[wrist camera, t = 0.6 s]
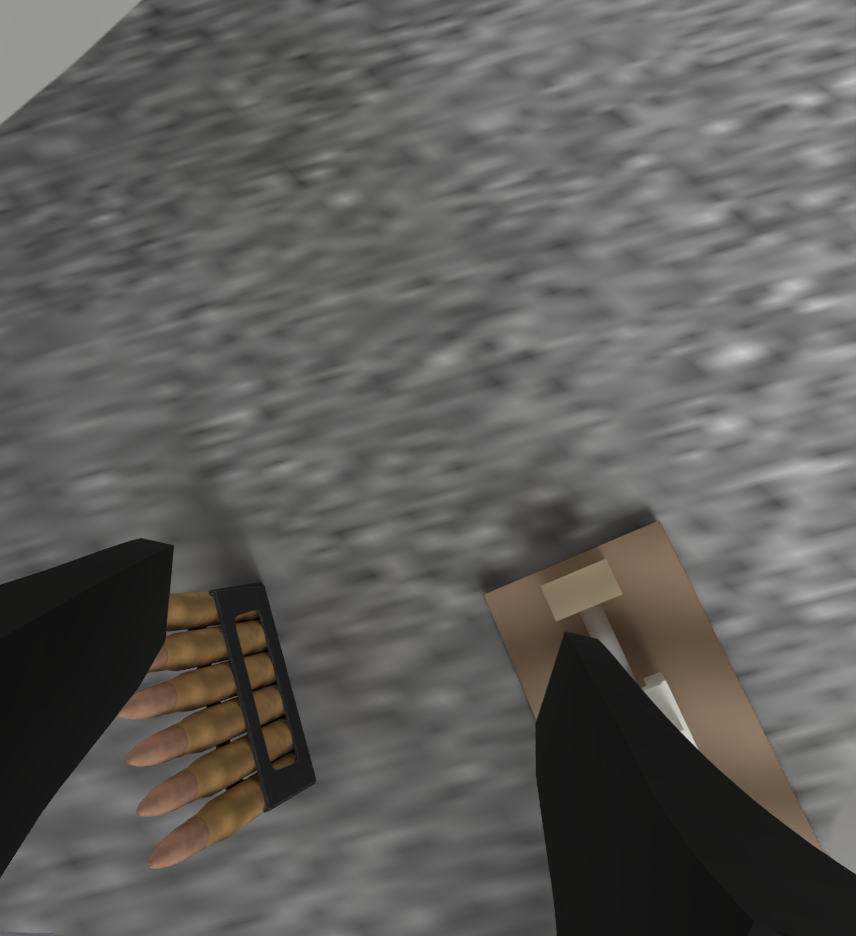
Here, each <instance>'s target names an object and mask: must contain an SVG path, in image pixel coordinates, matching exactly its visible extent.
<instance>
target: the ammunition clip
mask: <svg viewBox="0 0 856 936" xmlns="http://www.w3.org/2000/svg"><path fill="white" fill-rule="evenodd" d="M213 625H221V626H217V627H211V628H206V627H208V626H213ZM184 629H188V631H186V632H180V633H174V634H172V635H170V636H168V637H166V639H165V643H164V645H163V646H162V648H161V650H160V652H159V653H158V655H157V657H156V659H155V661H154V662H153V664H152V666H151V668H150V669H149V671H148V673H149V672H157V671H164V670H170V671H179V670H186V669H190V668H194V667H197V669H196V670H193V671H189V672H185V673H182V674H180V675H179V676H177V677H175V678H174V679H172V680H169V681H166V682H163V683H161V684H159V685H156V686H152V687H149V688H147V689H145V690H142V691H140V692H138V693H136V694H135V695H133V696H132V697H131V698H130V699H129V701H128V702H127V703H126V704H125V706H124V707H123V708H122V710H121V711H120V712H119V713H118V716H120V717H122V718H126V719H145V718H152V717H157V716H161V715H164V714H170V713H174V712H178V711H181V712H183V711H192V710H195V709H198V708H201V707H204V706H206V707H207V708H206V709H203V710H201V711H198V712H195V713H193V714H191V715H189V716H187V717H186V718H184V719H183V720H182V721H180V722H179V723H177V724H174V725H172V726H170V727H169V728H167V729H164V730H162V731H160V732H158V733H156V734H154V735H152V736H150V737H149V738H147V739H145V740H144V741H142V742H141V743H140V744H138V745H137V746H136V747H135V748H134V749H133V750H132V751H131V752H130V753H129V755H128V756H127V758H126V763H127V764H130V765H133V766H149V765H156V764H160V763H164V762H167V761H169V760H172V759H174V758H178V757H181V756H184V755H187V754H190V753H199V752H203V751H205V750H207V749H210V748H212V747H214V746H216V750H214V751H212V752H210V753H208V754H206V755H204V756H202V757H200V758H198V759H197V760H195V761H194V762H193V763H192V764H191V765H190V766H189V767H188V768H186V769H184V770H182V771H181V772H179V773H177V775H175V776H173V777H171V778H169V779H167V780H165V781H164V782H162V783H161V784H160V785H158V786H157V787H155V788H154V789H153V790H152V791H151V792H150V793H149V794H148V795H147V796H146V797H145V798H144V799H143V800H142V802H141V803H140V804H139V806H138V808H137V814H138V815H141V816H155V815H161V814H165V813H168V812H171V811H173V810H176V809H178V808H180V807H182V806H184V805H186V804H188V803H191V802H193V801H195V800H197V799H200V798H204V797H209V796H212V795H214V794H216V793H218V792H220V791H221V790H223V789H225V788H226V792H224V793H222V794H221V795H219V796H217V797H216V798H214V799H213V800H211V801H209V802H208V803H206V805H205V806H204V807H203V808H202V809H201V810H200V811H199V812H198V813H197V814H195V815H194V816H193V817H191V818H190V819H188V820H187V821H186V822H185V823H184V824H182V825H180V826H179V827H177V828H176V829H175V830H174V831H172V832H171V833H170V834H169V835H168V836H166V837H165V838H164V839H163V841H162V842H161V843H160V844H159V845H158V846H157V848H156V849H155V850H154V851H153V853H152V854H151V856H150V858H149V860H148V867H150V868H163V867H167V866H171V865H174V864H176V863H179V862H181V861H183V860H185V859H187V858H189V857H191V856H192V855H194V854H195V853H197V852H198V851H201V850H203V849H204V848H206V847H208V846H209V845H211V844H213V843H217V842H220V841H222V840H224V839H226V838H228V837H229V836H231V835H232V834H234V833H235V832H237V831H238V830H239V829H241V828H242V827H244V826H245V825H246V824H248V823H249V822H251V821H252V820H253V819H255V818H256V817H258V816H259V815H261V814H262V813H263V812H264V813H265V812H268V811H270V810H272V809H273V808H275V807H277V806H278V805H280V804H282V803H283V802H285V801H287V800H288V799H290V798H292V797H293V796H295V795H297V794H298V793H300V792H302V791H303V790H305V789H307V788H308V787H310V786H312V785H313V784H315V782H316V777H315V774H314V770H313V766H312V762H311V759H310V755H309V751H308V747H307V744H306V740H305V736H304V732H303V729H302V725H301V721H300V717H299V714H298V710H297V706H296V702H295V699H294V695H293V691H292V688H291V684H290V680H289V676H288V673H287V669H286V665H285V661H284V658H283V654H282V650H281V646H280V643H279V639H278V635H277V631H276V628H275V624H274V620H273V616H272V613H271V609H270V605H269V601H268V598H267V594H266V590H265V586H264V585H263V584H262V583H255V584H248V585H242V586H235V587H228V588H221V589H214V590H211V591H208V592H193V593H179V594H170V595H169V606H168V617H167V628H166V631H176V630H184ZM224 660H229V661H227V662H223V663H220V664H216V665H211V663H216V662H220V661H224ZM237 695H238V697H236V698H233V699H231V700H228V701H225V702H223V703H221V702H220V701H222V700H225V699H228V698H231V697H234V696H237ZM245 732H247V733H248V734H247V735H245V736H243V737H241V738H239V739H237V740H235V741H233V742H231V743H230V739H232V738H234V737H237V736H239V735H241V734H243V733H245ZM256 770H257V773H255V774H254V775H252V776H250V777H249V778H247V779H245V780H243V779H242V778H244V777H246V776H248V775H249V774H251V773H253V772H255V771H256Z"/></svg>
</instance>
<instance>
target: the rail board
mask: <svg viewBox="0 0 856 936" xmlns="http://www.w3.org/2000/svg"><path fill="white" fill-rule="evenodd" d="M484 596H485V599H486V601H487V603H488V606H489V608H490V611H491V613H492V615H493V618H494V620H495V623H496V625H497V627H498V630H499V632H500V635H501V637H502V639H503V642H504V644H505V646H506V649H507V651H508V654H509V656H510V658H511V661H512V663H513V666H514V668H515V670H516V673H517V675H518V678H519V680H520V682H521V685H522V687H523V689H524V692H525V694H526V697H527V699H528V701H529V704H530V706H531V709H532V711H533V713H534V716H535V718H536V720H537V717H538V714H539V711H540V708H541V705H542V702H543V698H544V695H545V692H546V689H547V686H548V683H549V679H550V676H551V673H552V670H553V667H554V664H555V660H556V657H557V654H558V651H559V648H560V645H561V641H562V638H563V635H564V632H570V633H574V634H579V635H583V636H588V637H592V638H597V639H599V640H600V641H601V642H602V643H603V644H604V645H605V647H606V648H607V649H608V650H609V651H610V652H611V653H612V654H613V656H614V657H615V658H616V659H617V660H618V661H619V663H620V664H621V665H622V666H623V667H624V669H625V670H626V671H627V672H628V673H629V674H630V676H631V677H632V678H633V679H634V680H635V682H636V683H637V684H638V685H639V686H640V687H641V688H642V687H644V686H646V684H645V681H644V679H643V678H645V677H648V676H650V675H653V674H656V673H658V672H661V673H662V675H663V676H664V678H665V680H666V682H667V684H668V686H669V688H670V690H671V692H672V694H673V697H674V699H675V701H676V703H677V705H678V707H679V709H680V712H681V714H682V716H683V718H684V720H685V722H686V724H687V726H688V729H689V731H690V733H691V735H692V737H693V739H694V741H695V744H696V746H697V748H698V750H699V751H700V752H701V753H702V754H703V755H704V756H705V757H706V758H707V759H708V760H709V761H710V762H712V763H713V764H714V765H715V766H716V767H717V768H718V769H719V770H720V771H721V772H722V773H724V774H725V775H726V776H727V777H728V778H729V779H730V780H732V781H733V782H734V783H735V784H736V785H737V786H738V787H740V788H741V789H742V790H743V791H744V792H745V793H746V794H748V795H749V796H750V797H751V798H752V799H753V800H755V801H756V802H757V803H758V804H760V805H761V806H762V807H763V808H765V809H766V810H767V811H768V812H770V813H771V814H772V815H773V816H775V817H776V818H777V819H779V820H780V821H781V822H783V823H784V824H785V825H787V826H788V827H789V828H791V829H792V830H793V831H795V832H796V833H797V834H799V835H800V836H801V837H803V838H804V839H805V840H807V841H808V842H809V843H811V844H812V845H813V846H815V847H816V848H818V849H819V850H821V851H822V849H821V847H820V845H819V843H818V841H817V839H816V837H815V835H814V833H813V831H812V829H811V827H810V825H809V823H808V821H807V819H806V817H805V815H804V813H803V811H802V809H801V807H800V805H799V803H798V801H797V799H796V796H795V794H794V792H793V790H792V788H791V786H790V784H789V782H788V780H787V778H786V776H785V774H784V772H783V770H782V768H781V766H780V764H779V762H778V760H777V758H776V756H775V754H774V752H773V750H772V748H771V746H770V744H769V742H768V740H767V738H766V736H765V734H764V732H763V730H762V728H761V726H760V724H759V722H758V720H757V718H756V715H755V713H754V711H753V709H752V707H751V705H750V703H749V701H748V699H747V697H746V695H745V693H744V691H743V689H742V687H741V685H740V683H739V681H738V679H737V677H736V675H735V673H734V671H733V669H732V667H731V665H730V663H729V661H728V659H727V657H726V655H725V653H724V651H723V649H722V647H721V645H720V643H719V641H718V639H717V637H716V635H715V632H714V630H713V628H712V626H711V624H710V622H709V620H708V618H707V616H706V614H705V612H704V610H703V608H702V606H701V604H700V602H699V600H698V598H697V596H696V594H695V592H694V590H693V588H692V586H691V584H690V582H689V580H688V578H687V576H686V574H685V572H684V570H683V568H682V566H681V564H680V562H679V560H678V558H677V556H676V554H675V552H674V549H673V547H672V545H671V543H670V541H669V539H668V537H667V535H666V533H665V531H664V529H663V527H662V525H661V523H660V521H657V522H654V523H652V524H649V525H647V526H645V527H642V528H640V529H638V530H635V531H633V532H631V533H628V534H626V535H623V536H621V537H619V538H616V539H614V540H612V541H609V542H607V543H605V544H602V545H600V546H598V547H595V548H593V549H590V550H588V551H586V552H583V553H581V554H579V555H576V556H574V557H572V558H569V559H567V560H564V561H562V562H560V563H557V564H555V565H553V566H550V567H548V568H546V569H543V570H541V571H539V572H536V573H534V574H531V575H529V576H527V577H524V578H522V579H520V580H517V581H515V582H513V583H510V584H508V585H505V586H503V587H501V588H498V589H496V590H494V591H491V592H489V593H487V594H484ZM822 852H823V851H822Z"/></svg>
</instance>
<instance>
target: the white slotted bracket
mask: <svg viewBox="0 0 856 936" xmlns="http://www.w3.org/2000/svg"><path fill="white" fill-rule="evenodd" d="M643 679H644V681H645V684H646V686H644V687H642V688H641V689H642V690H643V691H644V692H645V693H646V694H647V696H648V697H649V698H650V699H651V700H652V701H653V702H654V703H655V705H656V706H657V707H658V708H659V709H660V710H661V711H662V712H663V714H664V715H665V716H666V717H667V718H668V719H669V720H670V721H671V722H672V723H673V724H674V725H675V726H676V728H677V729H678V730H679V731H680V732H681V733H682V734H683V735H684V736H685V737H686V738H687V739H688V740H689V741H690V742H691V743H692V744H693V745H694V746H695V747H696V748H697V746H696V744H695V741H694V739H693V737H692V735H691V733H690V731H689V729H688V726H687V724H686V722H685V720H684V718H683V716H682V714H681V712H680V709H679V707H678V705H677V703H676V701H675V699H674V697H673V694H672V692H671V690H670V688H669V686H668V684H667V682H666V680H665V678H664V676H663V675H662V673H661V672H658V673H656V674H653V675H650V676H648V677H645V678H643ZM697 749H698V748H697Z"/></svg>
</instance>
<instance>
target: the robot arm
mask: <svg viewBox="0 0 856 936" xmlns="http://www.w3.org/2000/svg"><path fill="white" fill-rule="evenodd" d="M173 550H174V545H170V544H165V543H161V542H156V541H152V540H147V539H143V538H140V539H136V540H132V541H128V542H125V543H122V544H119V545H116V546H113V547H110V548H107V549H104V550H102V551H99V552H96V553H93V554H90V555H88V556H85V557H82V558H79V559H76V560H74V561H71V562H68V563H65V564H62V565H59V566H57V567H54V568H51V569H48V570H45V571H42V572H39V573H36V574H33V575H30V576H27V577H23V578H20V579H17V580H14V581H11V582H8V583H4V584H1V585H0V877H1V876H2V874H3V873H4V871H5V869H6V868H7V866H8V865H9V863H10V861H11V860H12V858H13V857H14V855H15V854H16V852H17V850H18V849H19V847H20V846H21V844H22V843H23V841H24V840H25V838H26V836H27V835H28V833H29V832H30V830H31V829H32V827H33V825H34V824H35V822H36V821H37V819H38V818H39V816H40V815H41V813H42V812H43V810H44V809H45V808H46V806H47V805H48V803H49V802H50V801H51V799H52V798H53V797H54V795H55V794H56V792H57V791H58V790H59V788H60V787H61V786H62V784H63V783H64V782H65V781H66V779H67V778H68V777H69V776H70V774H71V773H72V772H73V771H74V769H75V768H76V767H77V765H78V764H79V763H80V762H81V760H82V759H83V758H84V757H85V755H86V754H87V753H88V752H89V750H90V749H91V748H92V746H93V745H94V744H95V743H96V741H97V740H98V739H99V738H100V736H101V735H102V734H103V733H104V731H105V730H106V729H107V728H108V726H109V725H110V724H111V722H112V721H113V720H114V719H115V717H116V716H117V715H118V713H119V712H120V711H121V710H122V708H123V707H124V706H125V704H126V703H127V702H128V701H129V699H130V698H131V697H132V695H133V694H134V693H135V691H136V690H137V689H138V687H139V686H140V684H141V682H142V681H143V679H144V677H145V676H146V674H147V673H148V671H149V669H150V668H151V666H152V664H153V662H154V661H155V659H156V657H157V655H158V653H159V652H160V650H161V648H162V646H163V645H164V643H165V639H166V628H167V617H168V606H169V595H170V584H171V572H172V561H173ZM536 778H537V786H538V793H539V801H540V808H541V815H542V822H543V829H544V836H545V843H546V850H547V857H548V864H549V871H550V877H551V884H552V891H553V898H554V908H555V918H556V928H557V936H856V874H854V873H853V872H851V871H850V870H848V869H847V868H845V867H844V866H842V865H841V864H839V863H838V862H836V861H835V860H834V859H832V858H831V857H829V856H828V855H826V854H825V853H823V852H822V851H821V850H819V849H818V848H816V847H815V846H813V845H812V844H811V843H809V842H808V841H807V840H805V839H804V838H803V837H801V836H800V835H799V834H797V833H796V832H795V831H793V830H792V829H791V828H789V827H788V826H787V825H785V824H784V823H783V822H781V821H780V820H779V819H777V818H776V817H775V816H773V815H772V814H771V813H770V812H768V811H767V810H766V809H765V808H763V807H762V806H761V805H760V804H758V803H757V802H756V801H755V800H753V799H752V798H751V797H750V796H749V795H748V794H746V793H745V792H744V791H743V790H742V789H741V788H740V787H738V786H737V785H736V784H735V783H734V782H733V781H732V780H730V779H729V778H728V777H727V776H726V775H725V774H724V773H722V772H721V771H720V770H719V769H718V768H717V767H716V766H715V765H714V764H713V763H712V762H710V761H709V760H708V759H707V758H706V757H705V756H704V755H703V754H702V753H701V752H700V751H699V750H698V749H697V748H696V747H695V746H694V745H693V744H692V743H691V742H690V741H689V740H688V739H687V738H686V737H685V736H684V735H683V734H682V733H681V732H680V731H679V730H678V729H677V728H676V726H675V725H674V724H673V723H672V722H671V721H670V720H669V719H668V718H667V717H666V716H665V715H664V714H663V712H662V711H661V710H660V709H659V708H658V707H657V706H656V705H655V703H654V702H653V701H652V700H651V699H650V698H649V697H648V696H647V694H646V693H645V692H644V691H643V690H642V689H641V687H640V686H639V685H638V684H637V683H636V682H635V680H634V679H633V678H632V677H631V676H630V674H629V673H628V672H627V671H626V670H625V669H624V667H623V666H622V665H621V664H620V663H619V661H618V660H617V659H616V658H615V657H614V656H613V654H612V653H611V652H610V651H609V650H608V649H607V648H606V647H605V645H604V644H603V643H602V642H601V641H600V640H599V639H597V638H592V637H588V636H583V635H579V634H574V633H570V632H564V635H563V638H562V641H561V645H560V648H559V651H558V654H557V657H556V660H555V664H554V667H553V670H552V673H551V676H550V679H549V683H548V686H547V689H546V692H545V695H544V698H543V702H542V705H541V708H540V711H539V714H538V717H537V721H536ZM0 936H62V935H58V934H53V933H19V932H0Z"/></svg>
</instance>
